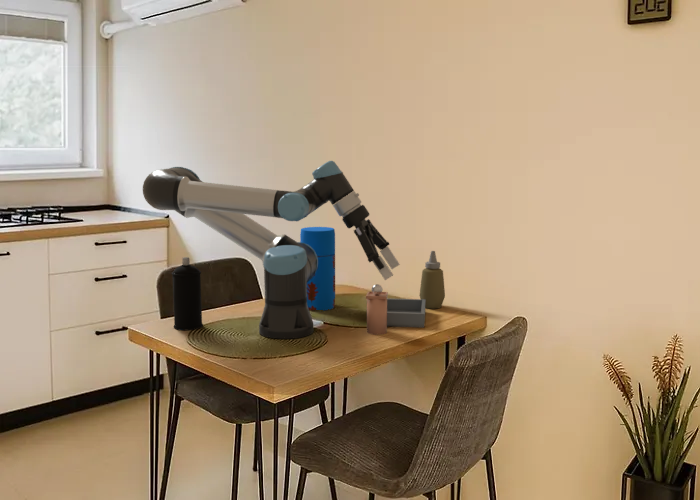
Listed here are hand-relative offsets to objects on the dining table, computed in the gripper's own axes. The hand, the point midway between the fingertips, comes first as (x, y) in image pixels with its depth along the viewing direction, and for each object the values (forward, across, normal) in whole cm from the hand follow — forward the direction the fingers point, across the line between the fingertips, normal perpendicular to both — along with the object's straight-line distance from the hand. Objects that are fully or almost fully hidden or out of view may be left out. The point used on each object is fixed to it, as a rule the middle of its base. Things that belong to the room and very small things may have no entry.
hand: (392, 272), depth 208 cm
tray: (+13, +5, +8) cm, 16 cm away
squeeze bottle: (+19, +21, +1) cm, 28 cm away
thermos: (-1, +14, +30) cm, 34 cm away
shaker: (+10, -11, +11) cm, 18 cm away
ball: (+1, -10, +4) cm, 11 cm away
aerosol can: (-19, -16, +55) cm, 61 cm away
